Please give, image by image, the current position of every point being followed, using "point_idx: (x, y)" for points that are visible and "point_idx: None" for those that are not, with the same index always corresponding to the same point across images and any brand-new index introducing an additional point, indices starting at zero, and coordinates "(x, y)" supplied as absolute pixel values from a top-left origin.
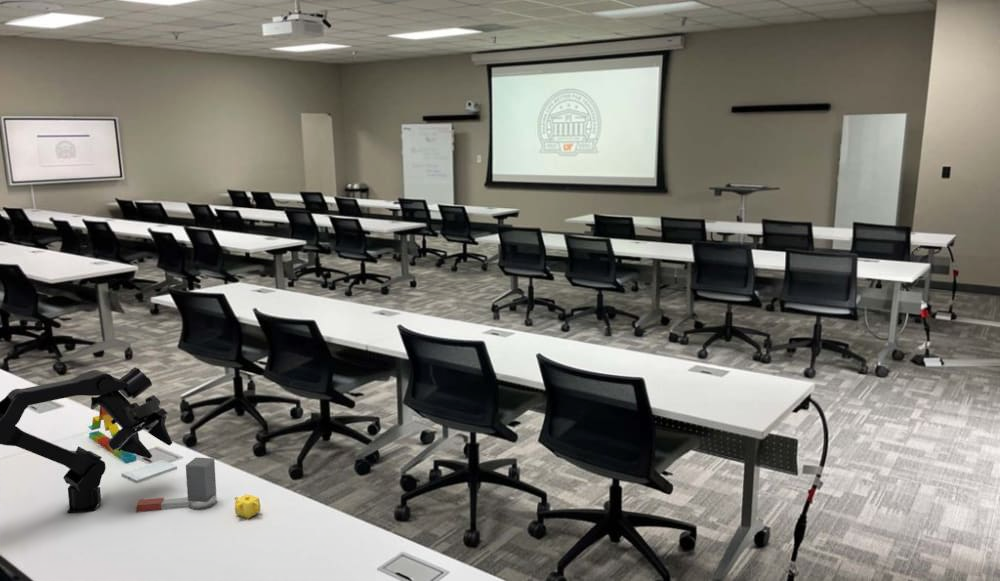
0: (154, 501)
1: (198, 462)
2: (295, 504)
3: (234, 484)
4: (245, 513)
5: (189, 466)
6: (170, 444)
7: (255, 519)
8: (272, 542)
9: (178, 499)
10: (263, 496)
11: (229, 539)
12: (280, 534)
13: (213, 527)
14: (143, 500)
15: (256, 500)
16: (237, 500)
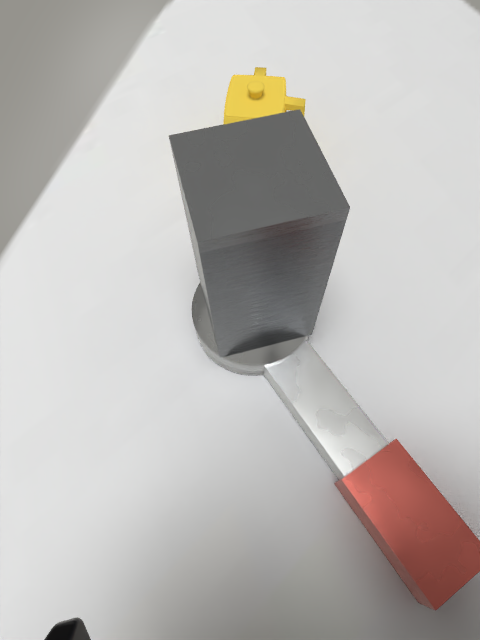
0: (401, 489)
1: (269, 169)
2: (146, 87)
3: (45, 329)
4: None
5: (336, 192)
6: (86, 636)
7: None
8: (350, 36)
9: (309, 399)
10: (122, 179)
11: (399, 108)
12: (309, 41)
13: (373, 178)
14: (429, 568)
15: (246, 78)
16: (280, 112)
